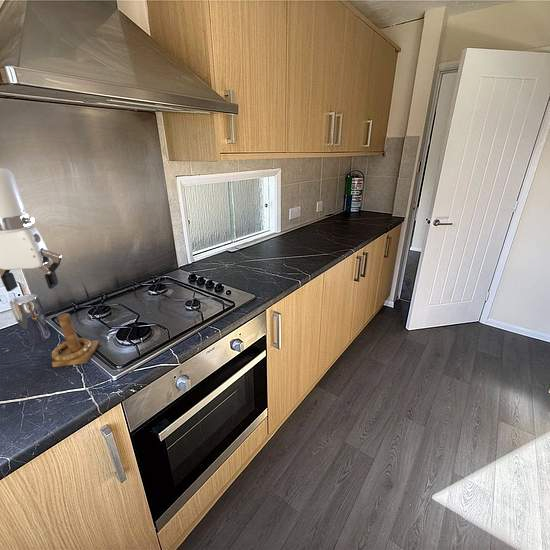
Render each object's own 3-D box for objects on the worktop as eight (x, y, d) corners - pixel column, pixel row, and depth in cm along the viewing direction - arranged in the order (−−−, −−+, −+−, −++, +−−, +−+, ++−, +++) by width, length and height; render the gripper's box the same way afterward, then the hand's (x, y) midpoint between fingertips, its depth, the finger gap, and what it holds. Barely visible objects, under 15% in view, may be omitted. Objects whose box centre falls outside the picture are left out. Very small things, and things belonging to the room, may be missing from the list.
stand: (52, 367, 81) (35, 326, 76) (68, 347, 90) (54, 309, 84) (87, 363, 83) (73, 322, 77) (99, 343, 91) (87, 305, 85)
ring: (45, 364, 80) (43, 359, 80) (62, 343, 89) (61, 338, 88) (83, 359, 82) (81, 355, 81) (96, 339, 90) (95, 335, 90)
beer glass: (53, 331, 98) (37, 291, 92) (55, 341, 93) (38, 299, 87) (26, 339, 94) (8, 298, 88) (27, 350, 89) (8, 307, 83)
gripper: (57, 218, 74) (75, 279, 81) (-20, 221, 72) (5, 284, 79) (40, 225, 67) (62, 291, 74) (-46, 228, 65) (-15, 297, 72)
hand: (33, 287), depth 76 cm, fingers open, 9 cm apart
